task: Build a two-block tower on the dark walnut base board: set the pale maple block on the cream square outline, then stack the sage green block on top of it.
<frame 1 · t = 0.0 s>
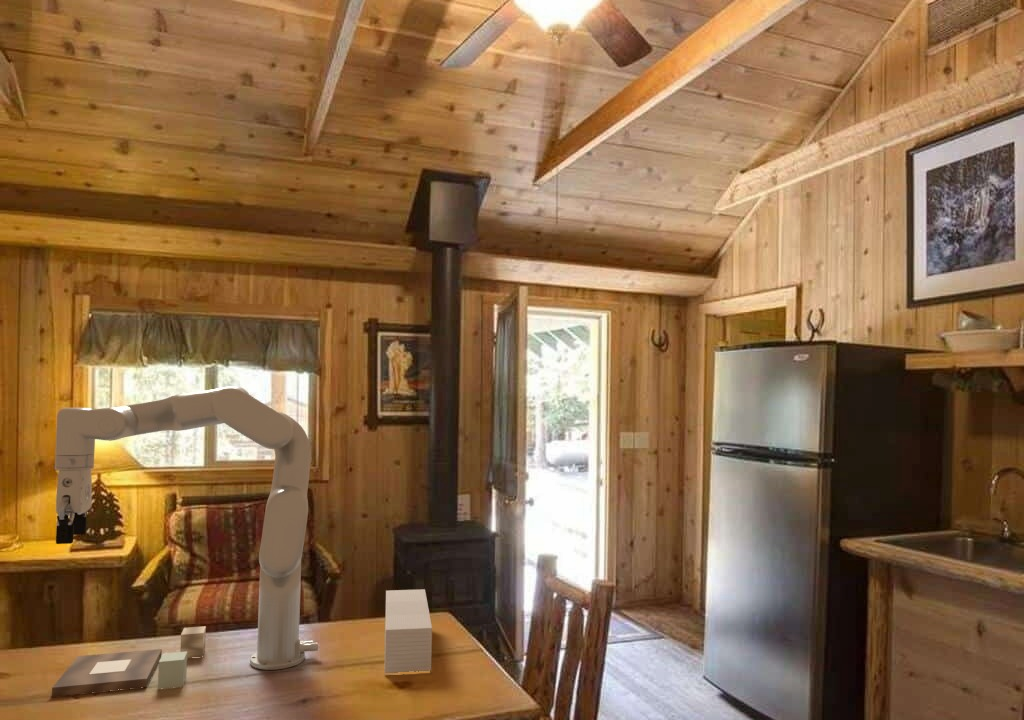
hand: (71, 538, 157), 31 cm above the table, tool pointing down, fingers open, 9 cm apart
maple block: (192, 655, 172), on the table
stack of papers: (406, 651, 178), on the table
walnut board: (110, 675, 159), on the table
sage block: (172, 684, 155), on the table
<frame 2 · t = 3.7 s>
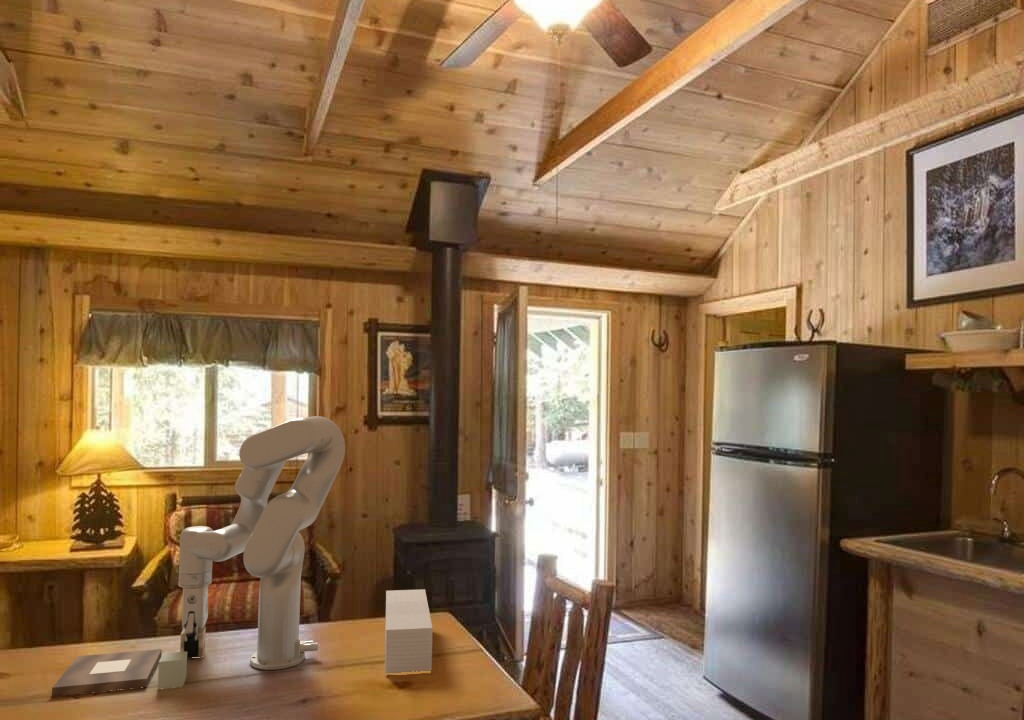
hand: (192, 652, 172), 1 cm above the table, tool pointing down, fingers closed on maple block, 5 cm apart
maple block: (192, 654, 172), on the table, touching gripper
everything else where it was.
when the fingers open (4 cm above the table, at t = 9.4 s): maple block stays where it is, resting on walnut board.
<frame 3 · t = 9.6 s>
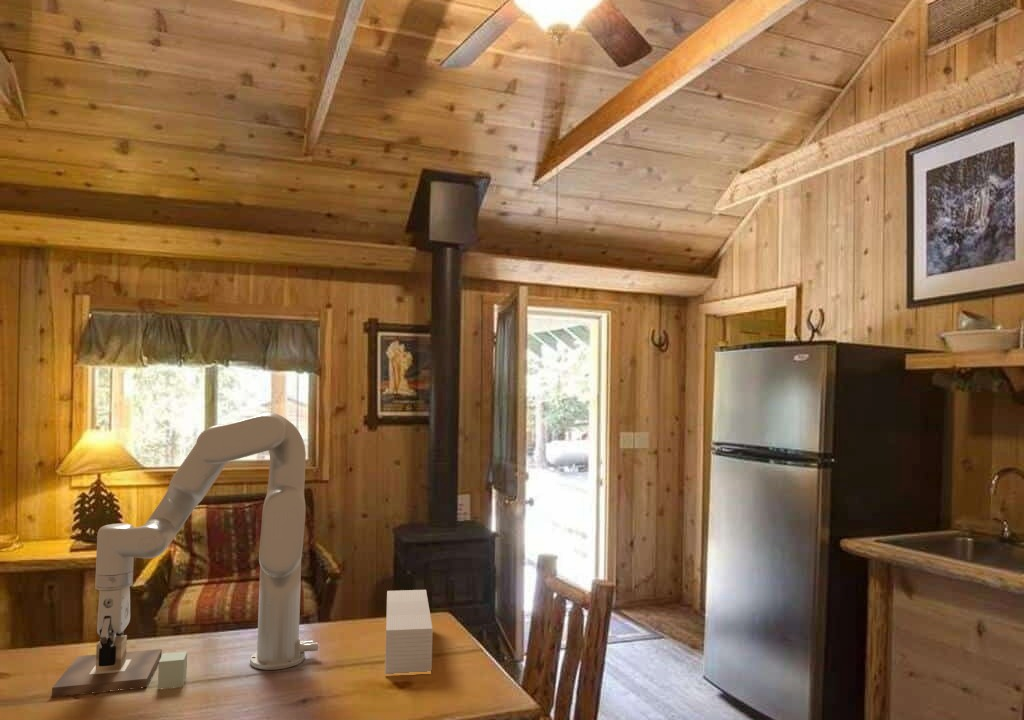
hand: (111, 658, 159), 4 cm above the table, tool pointing down, fingers open, 6 cm apart
maple block: (110, 666, 159), point 2 cm above the table, touching walnut board
everything else where it was.
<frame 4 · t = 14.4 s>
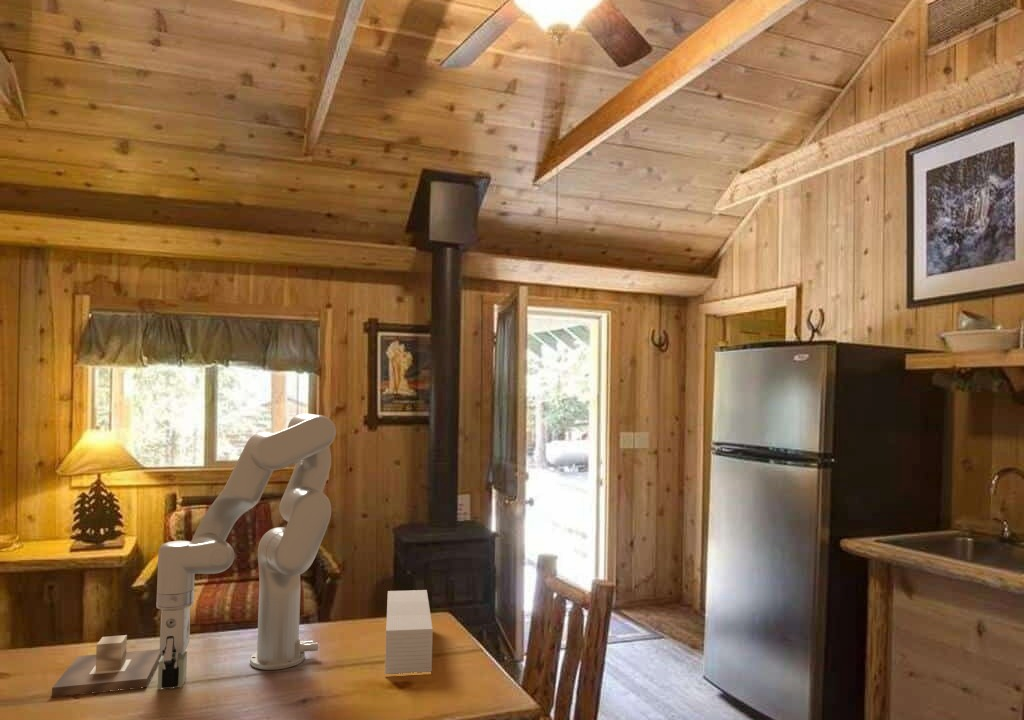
hand: (172, 680, 155), 1 cm above the table, tool pointing down, fingers closed on sage block, 5 cm apart
sage block: (172, 683, 155), on the table, touching gripper
everything else where it was.
when the fingers open (10 cm above the table, at t = 20.0 s): sage block stays where it is, resting on maple block.
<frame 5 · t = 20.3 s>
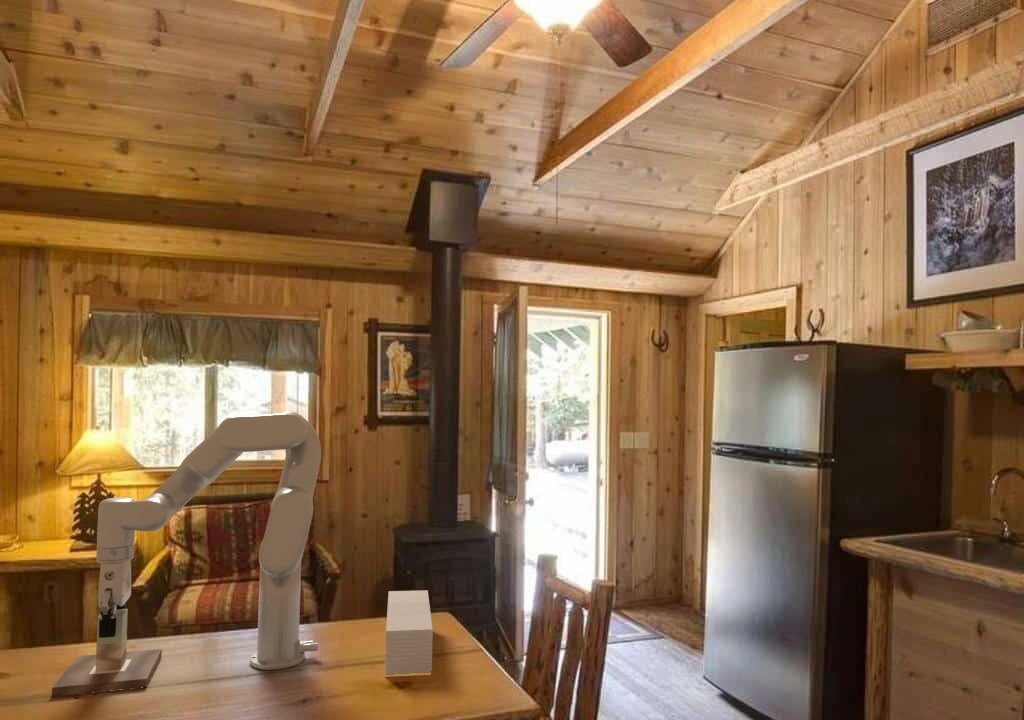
hand: (112, 629, 159), 10 cm above the table, tool pointing down, fingers open, 8 cm apart
maple block: (110, 666, 159), point 2 cm above the table, touching sage block, walnut board
sage block: (111, 639, 159), point 8 cm above the table, touching maple block
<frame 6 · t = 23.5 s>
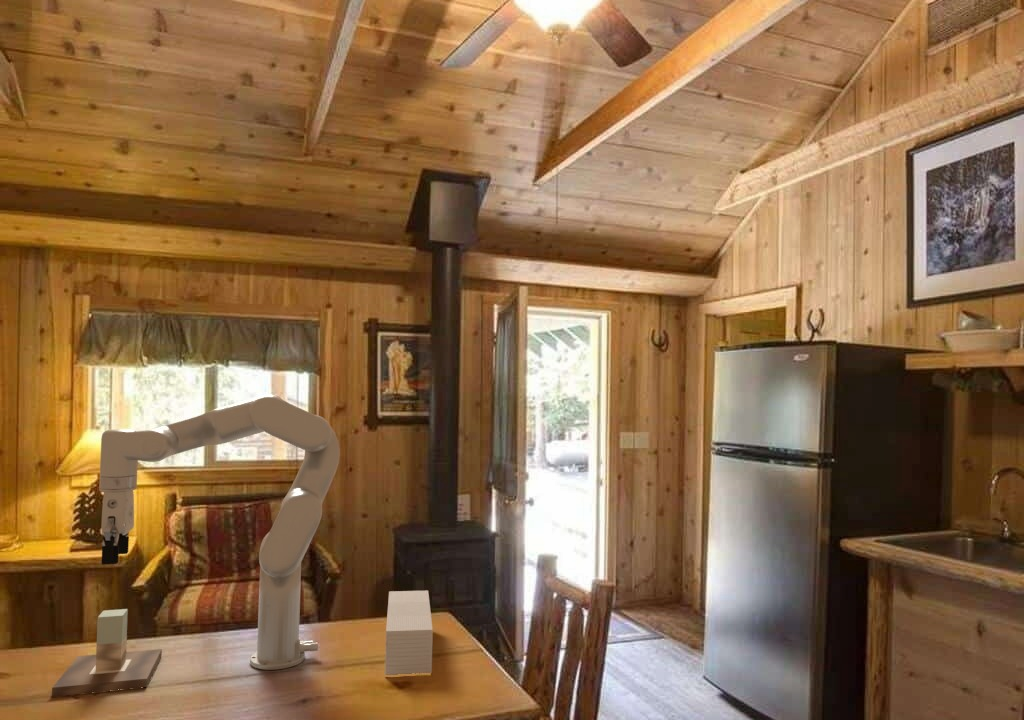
hand: (115, 558, 160), 26 cm above the table, tool pointing down, fingers open, 9 cm apart
at the end: maple block 0.0 cm off-centre on the walnut board, point 2.1 cm above the walnut board's base; sage block 0.1 cm off-centre on the maple block, point 6.0 cm above the maple block's base; sage block tilted 0° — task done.
